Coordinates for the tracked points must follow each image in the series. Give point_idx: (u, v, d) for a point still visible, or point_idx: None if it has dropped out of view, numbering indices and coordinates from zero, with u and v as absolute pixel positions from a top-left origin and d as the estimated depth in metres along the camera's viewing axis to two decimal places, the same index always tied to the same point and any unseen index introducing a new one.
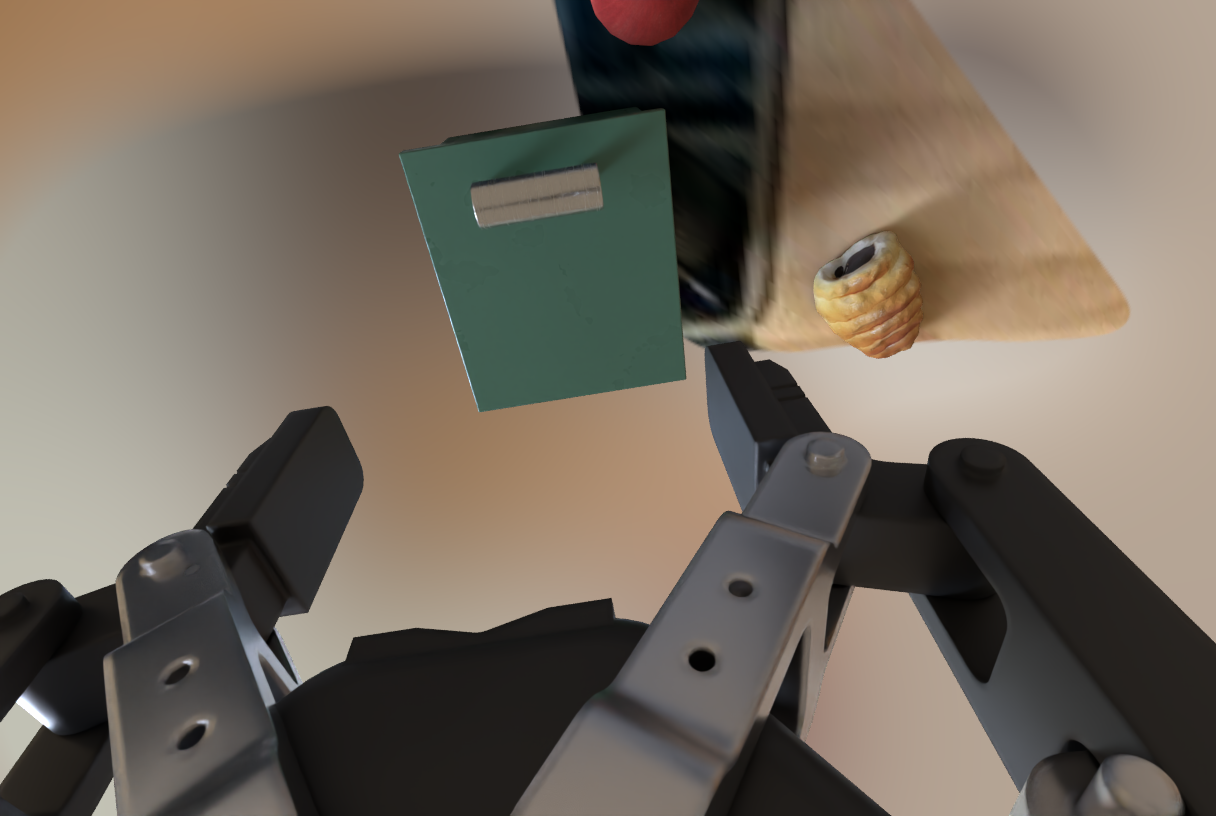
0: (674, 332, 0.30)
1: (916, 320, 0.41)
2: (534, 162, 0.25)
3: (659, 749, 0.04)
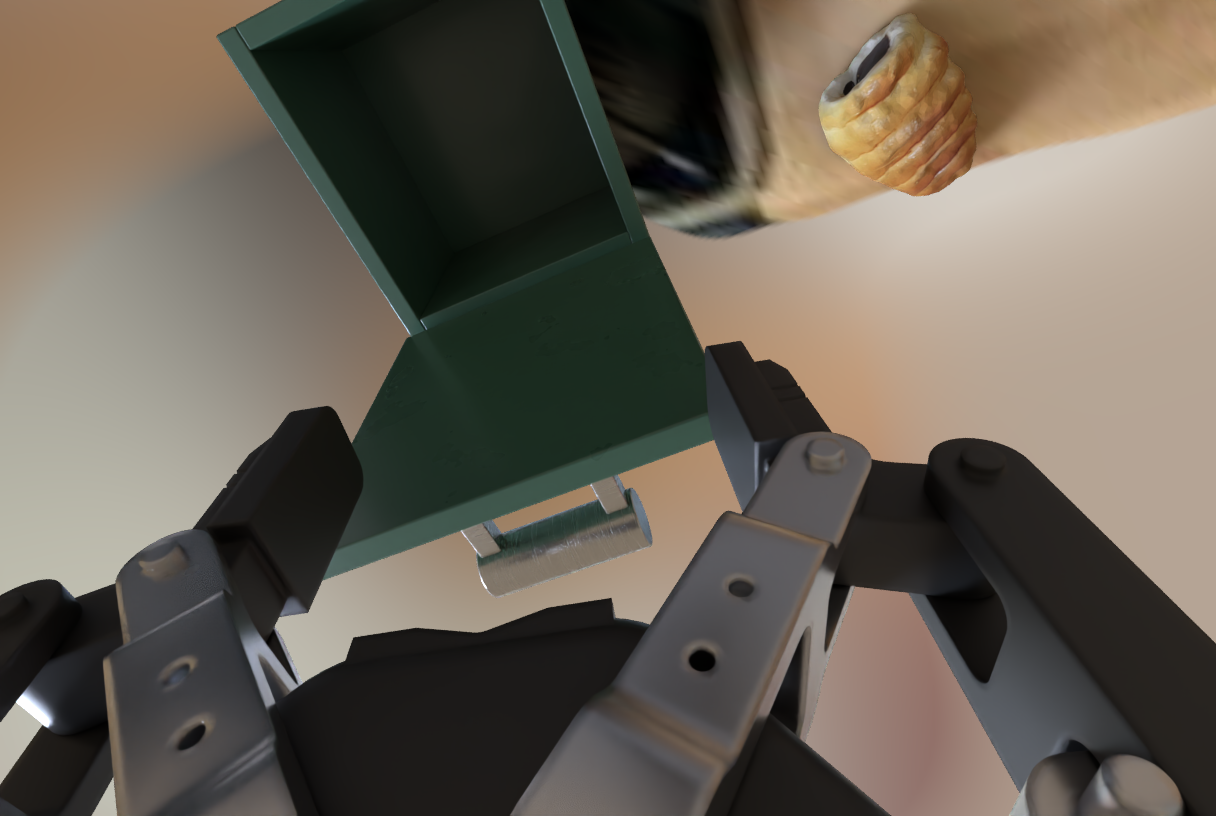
0: None
1: (968, 126, 0.31)
2: None
3: (659, 749, 0.04)
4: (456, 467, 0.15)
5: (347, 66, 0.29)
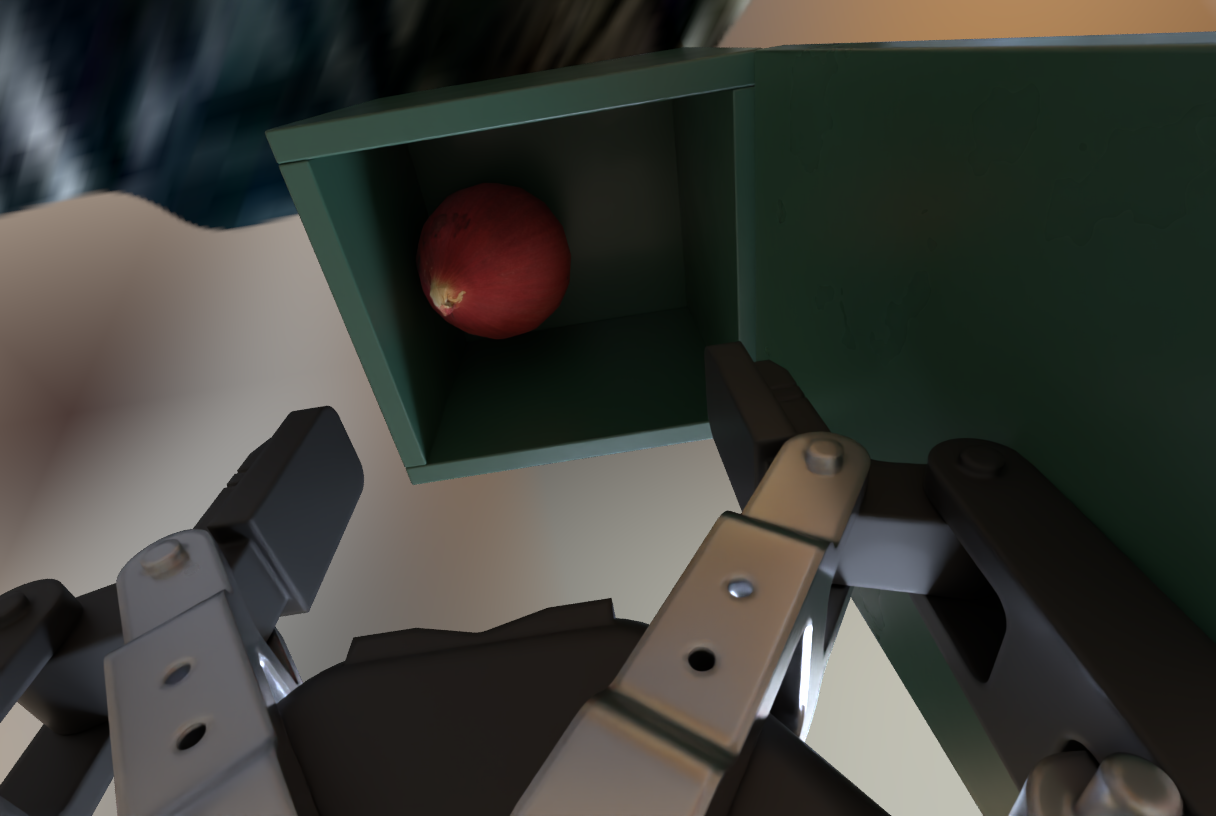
0: None
1: None
2: None
3: (659, 749, 0.04)
4: None
5: (479, 344, 0.28)
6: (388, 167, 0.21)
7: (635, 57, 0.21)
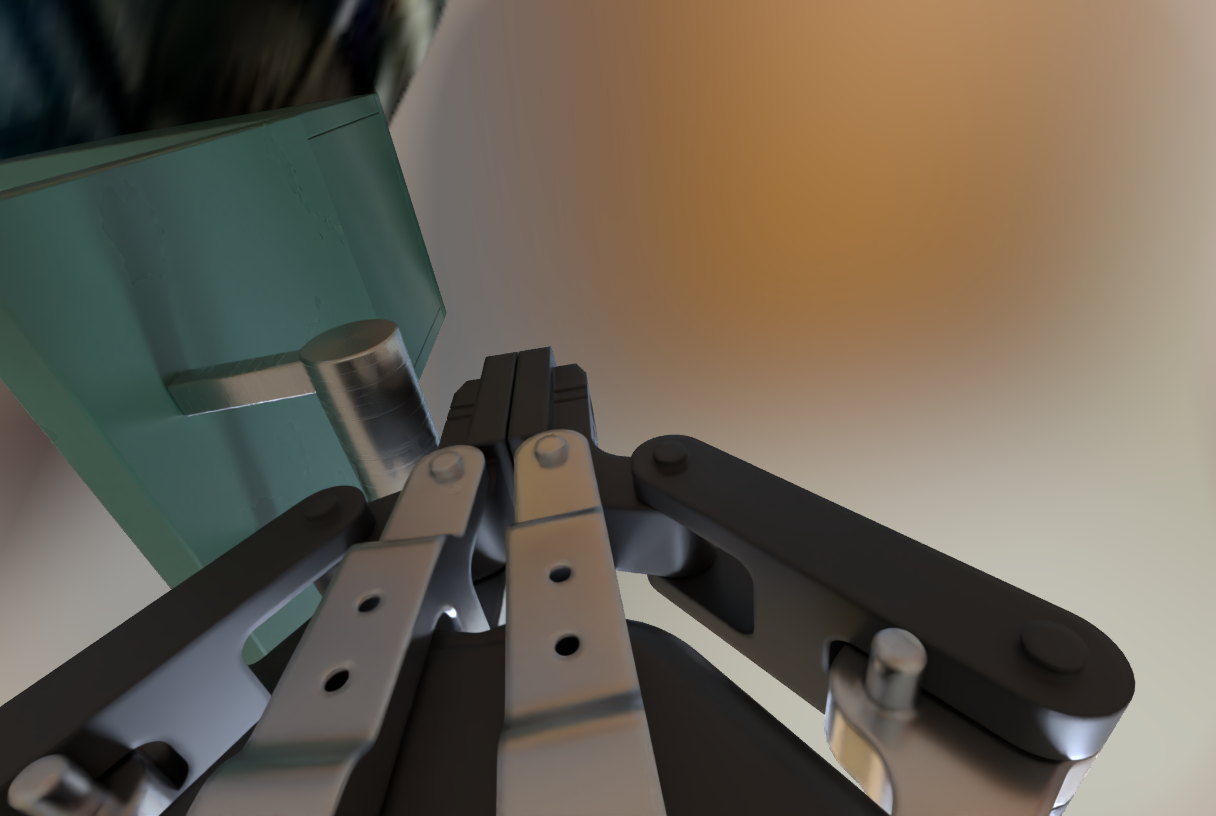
0: (270, 140, 0.16)
1: None
2: (221, 505, 0.11)
3: (586, 727, 0.05)
4: None
5: None
6: None
7: (311, 104, 0.26)
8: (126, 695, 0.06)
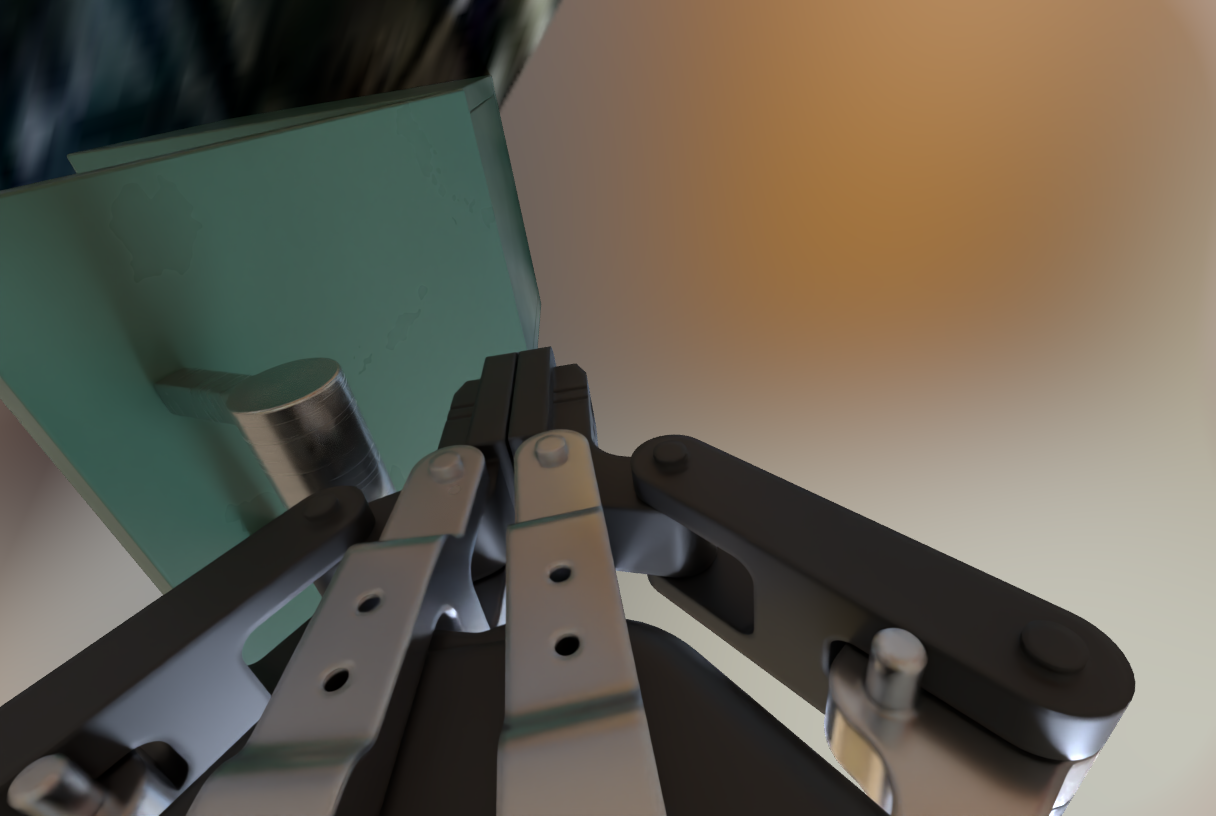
0: (406, 121, 0.16)
1: None
2: (198, 499, 0.12)
3: (586, 727, 0.05)
4: None
5: None
6: None
7: (433, 85, 0.25)
8: (126, 695, 0.06)
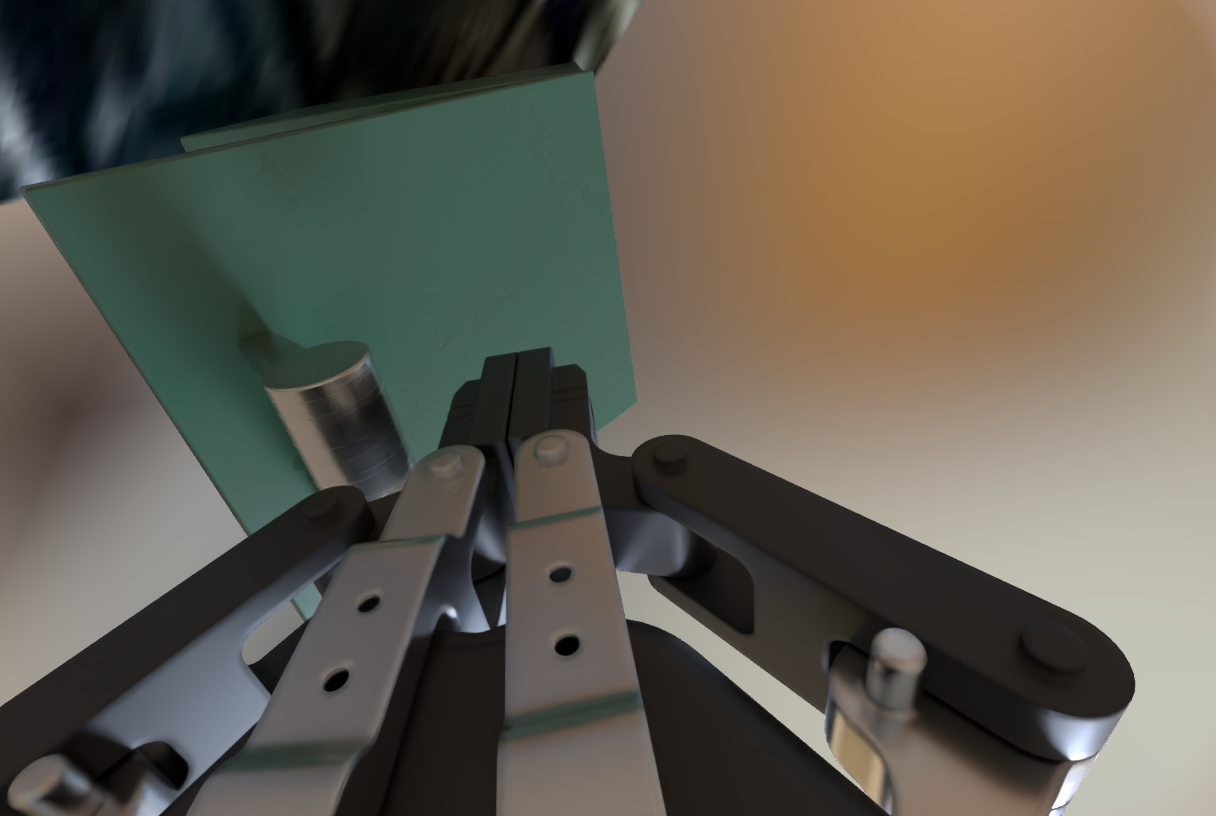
0: (521, 103, 0.15)
1: None
2: (269, 446, 0.13)
3: (586, 727, 0.05)
4: None
5: None
6: None
7: (523, 71, 0.25)
8: (126, 695, 0.06)
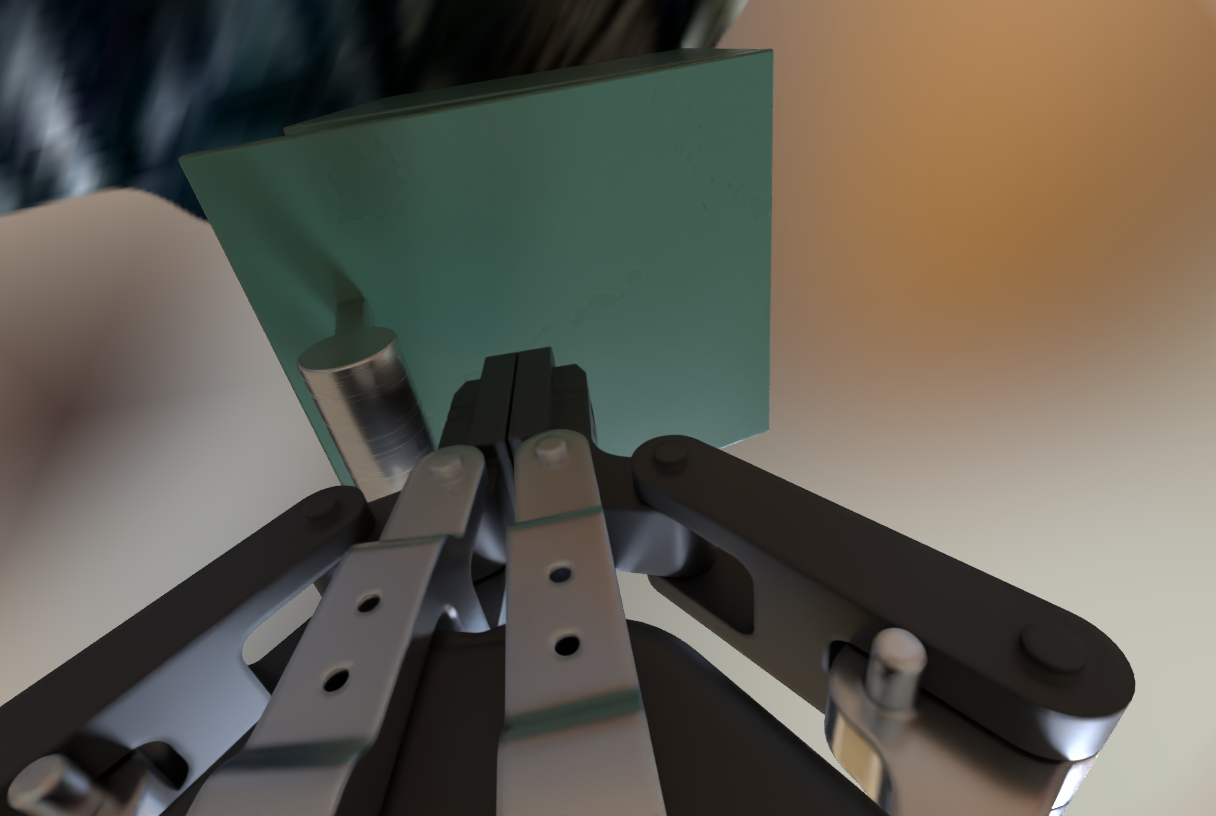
0: (668, 88, 0.14)
1: None
2: None
3: (586, 727, 0.05)
4: None
5: None
6: None
7: None
8: (126, 695, 0.06)
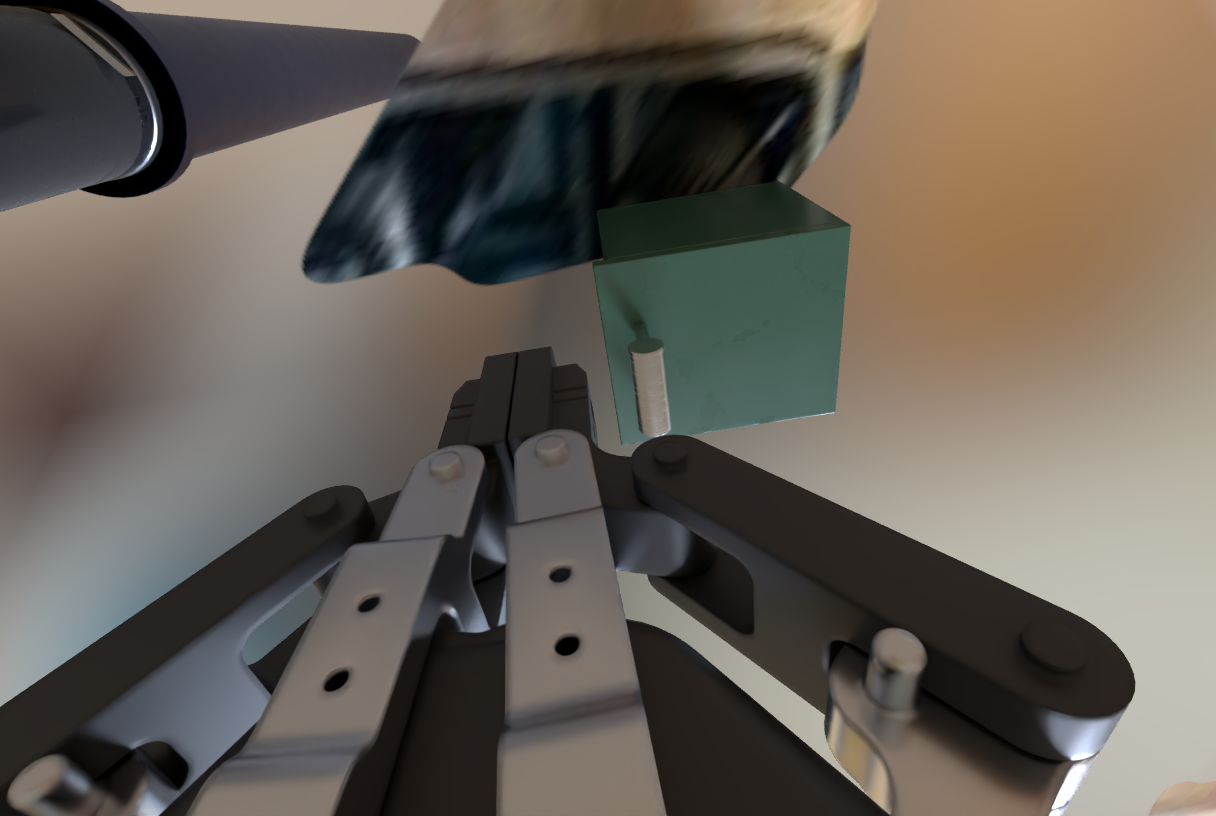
0: (793, 242, 0.30)
1: None
2: (630, 363, 0.33)
3: (586, 727, 0.05)
4: None
5: None
6: None
7: (756, 193, 0.37)
8: (126, 695, 0.06)
